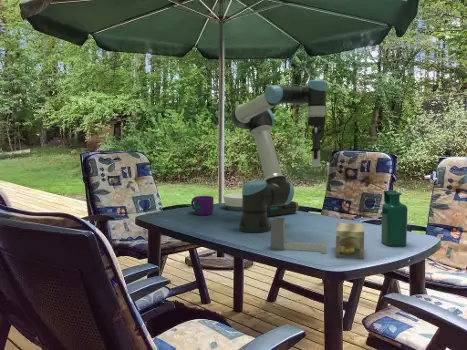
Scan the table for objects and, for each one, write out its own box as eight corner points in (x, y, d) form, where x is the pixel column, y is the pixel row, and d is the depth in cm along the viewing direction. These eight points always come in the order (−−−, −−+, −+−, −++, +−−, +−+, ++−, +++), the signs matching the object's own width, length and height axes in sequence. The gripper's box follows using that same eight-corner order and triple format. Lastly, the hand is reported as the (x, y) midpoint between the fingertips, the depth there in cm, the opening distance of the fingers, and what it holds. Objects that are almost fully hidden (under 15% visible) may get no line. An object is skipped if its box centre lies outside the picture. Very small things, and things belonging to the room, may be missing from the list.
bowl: (247, 213, 255) (247, 199, 254) (216, 209, 268) (216, 196, 267) (266, 207, 274) (266, 194, 273) (236, 204, 286) (236, 191, 285)
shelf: (335, 256, 164) (336, 230, 163) (336, 246, 178) (336, 222, 177) (363, 258, 161) (364, 232, 160) (361, 248, 176) (362, 223, 175)
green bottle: (408, 246, 178) (410, 193, 176) (388, 246, 177) (389, 193, 175) (397, 240, 188) (398, 190, 186) (378, 241, 187) (379, 190, 185)
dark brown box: (301, 219, 250) (257, 218, 235) (293, 220, 256) (250, 219, 240) (300, 200, 252) (257, 198, 237) (292, 201, 258) (250, 199, 242)
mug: (217, 214, 252) (217, 197, 251) (202, 216, 244) (202, 199, 243) (199, 210, 264) (198, 194, 264) (183, 212, 257) (183, 196, 256)
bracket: (270, 250, 174) (270, 220, 172) (273, 245, 180) (273, 217, 179) (325, 253, 168) (325, 222, 167) (326, 248, 175) (326, 219, 174)
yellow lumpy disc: (338, 254, 168) (339, 247, 167) (338, 250, 173) (338, 244, 173) (355, 255, 166) (355, 248, 166) (354, 251, 172) (354, 245, 172)
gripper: (325, 115, 174) (324, 168, 176) (326, 117, 198) (325, 163, 200) (306, 115, 176) (305, 167, 178) (309, 117, 200) (309, 163, 202)
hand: (316, 165), depth 189 cm, fingers open, 13 cm apart
